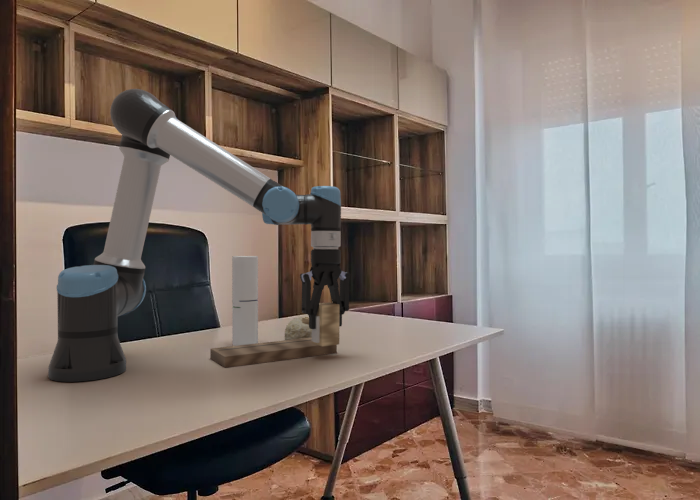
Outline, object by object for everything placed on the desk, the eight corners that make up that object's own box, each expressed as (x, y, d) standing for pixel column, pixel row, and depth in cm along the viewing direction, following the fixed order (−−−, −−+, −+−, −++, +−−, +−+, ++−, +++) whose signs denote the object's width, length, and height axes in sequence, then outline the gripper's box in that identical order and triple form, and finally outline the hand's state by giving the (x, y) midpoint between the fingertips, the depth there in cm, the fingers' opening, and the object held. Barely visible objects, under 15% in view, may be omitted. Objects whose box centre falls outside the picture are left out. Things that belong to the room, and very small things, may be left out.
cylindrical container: (255, 346, 140) (255, 256, 140) (229, 346, 140) (229, 256, 140) (260, 341, 147) (260, 256, 147) (235, 341, 147) (235, 256, 147)
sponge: (317, 356, 146) (320, 325, 152) (312, 342, 138) (316, 310, 144) (285, 355, 147) (290, 324, 153) (279, 341, 139) (284, 309, 145)
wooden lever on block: (321, 346, 123) (322, 305, 123) (296, 337, 135) (296, 300, 135) (339, 344, 126) (339, 304, 126) (312, 335, 138) (312, 299, 137)
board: (225, 367, 116) (225, 356, 116) (210, 358, 125) (210, 348, 125) (336, 352, 132) (336, 342, 132) (316, 345, 141) (316, 336, 141)
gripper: (300, 248, 118) (300, 347, 118) (364, 248, 128) (363, 339, 128) (286, 248, 125) (286, 341, 125) (348, 248, 134) (347, 335, 135)
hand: (325, 340), depth 127 cm, fingers closed on wooden lever on block, 5 cm apart
